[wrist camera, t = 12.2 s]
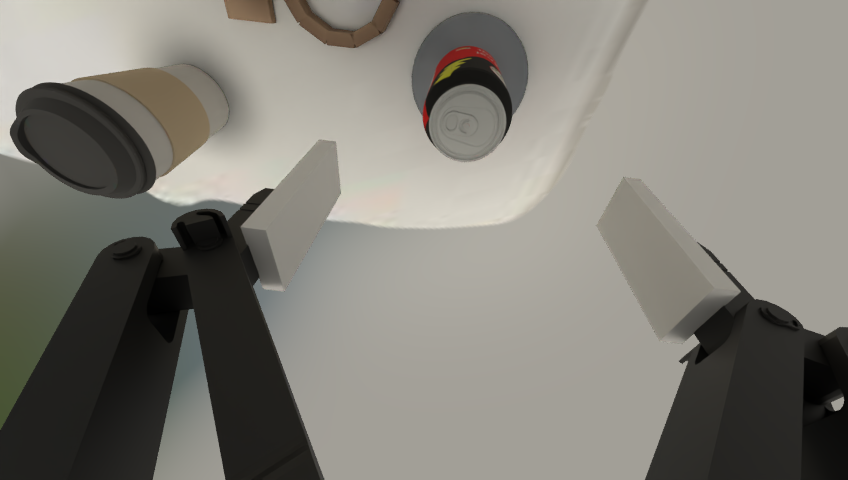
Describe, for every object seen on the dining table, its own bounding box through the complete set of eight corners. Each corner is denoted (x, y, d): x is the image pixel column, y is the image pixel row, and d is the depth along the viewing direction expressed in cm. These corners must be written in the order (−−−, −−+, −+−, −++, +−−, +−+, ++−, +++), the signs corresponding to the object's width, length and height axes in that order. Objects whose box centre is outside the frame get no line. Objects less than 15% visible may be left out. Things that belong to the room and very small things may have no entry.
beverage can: (488, 121, 32) (497, 177, 23) (428, 108, 32) (413, 160, 23) (509, 52, 28) (531, 85, 19) (440, 37, 28) (429, 63, 19)
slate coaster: (416, 5, 27) (415, 5, 27) (543, 19, 27) (544, 20, 26) (409, 130, 34) (408, 132, 34) (509, 142, 34) (510, 144, 34)
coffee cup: (238, 72, 32) (112, 123, 21) (241, 150, 38) (143, 224, 26) (144, 37, 31) (-46, 69, 19) (162, 123, 36) (23, 187, 25)
